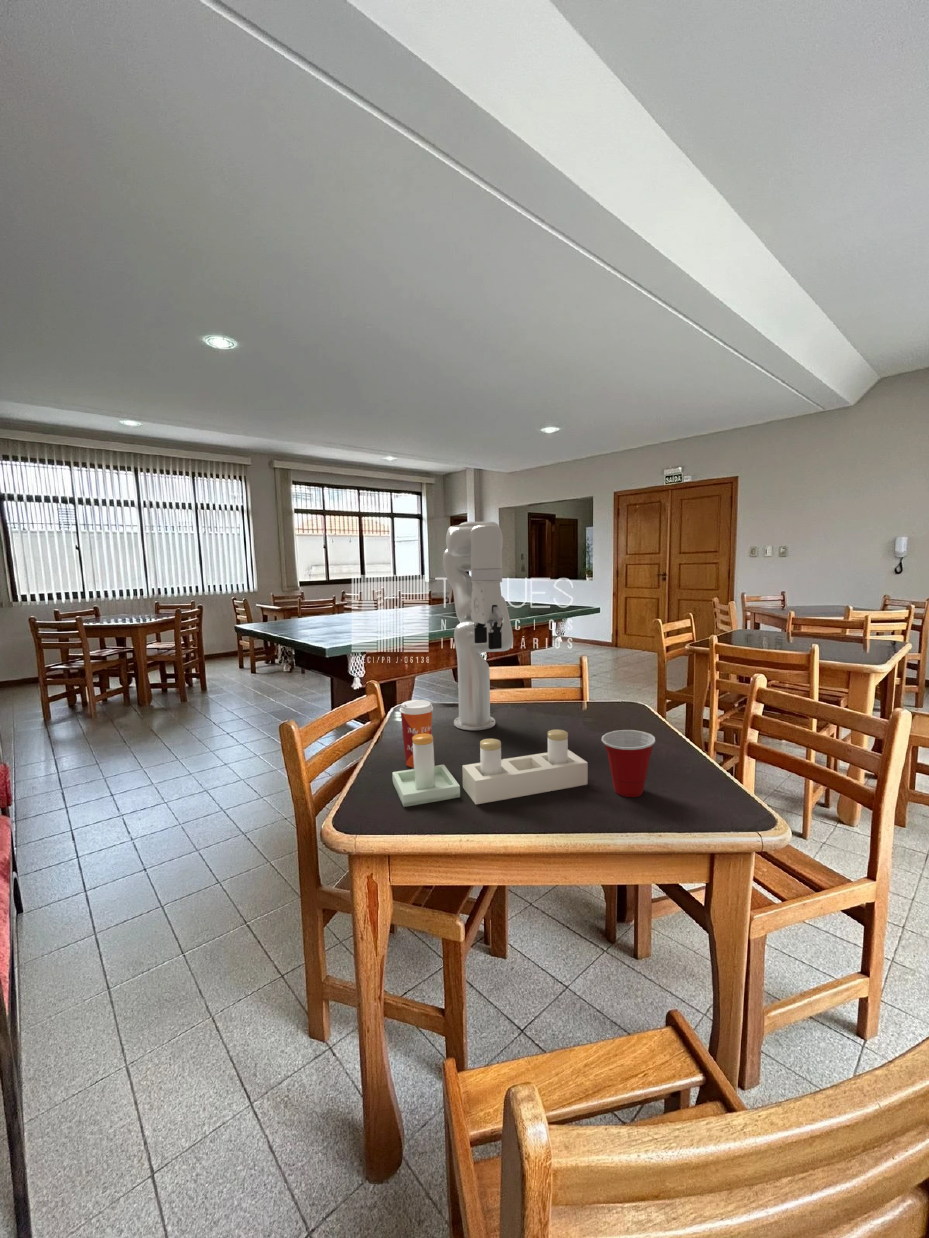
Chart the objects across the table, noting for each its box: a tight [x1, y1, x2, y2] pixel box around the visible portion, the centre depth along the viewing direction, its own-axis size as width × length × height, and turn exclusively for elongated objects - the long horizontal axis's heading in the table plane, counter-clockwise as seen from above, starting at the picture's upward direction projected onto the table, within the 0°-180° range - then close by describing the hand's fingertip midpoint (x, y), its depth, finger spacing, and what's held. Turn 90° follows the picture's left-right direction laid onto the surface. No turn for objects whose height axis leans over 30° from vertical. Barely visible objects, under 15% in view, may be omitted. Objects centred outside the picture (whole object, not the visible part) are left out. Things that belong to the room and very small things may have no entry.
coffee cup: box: [399, 699, 434, 769], centre depth 123 cm, size 8×8×15 cm
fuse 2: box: [547, 729, 569, 765], centre depth 112 cm, size 4×4×11 cm
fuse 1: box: [479, 738, 502, 777], centre depth 107 cm, size 4×4×11 cm
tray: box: [391, 764, 461, 808], centre depth 109 cm, size 12×12×2 cm
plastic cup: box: [601, 729, 656, 798], centre depth 106 cm, size 11×11×12 cm
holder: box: [462, 749, 589, 805], centre depth 110 cm, size 8×26×5 cm, turn 109°
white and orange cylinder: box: [412, 733, 435, 790], centre depth 108 cm, size 4×4×11 cm
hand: (487, 645), depth 124 cm, fingers open, 9 cm apart
